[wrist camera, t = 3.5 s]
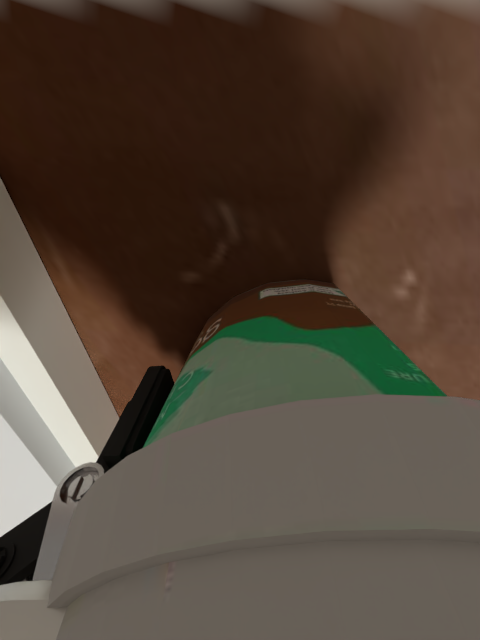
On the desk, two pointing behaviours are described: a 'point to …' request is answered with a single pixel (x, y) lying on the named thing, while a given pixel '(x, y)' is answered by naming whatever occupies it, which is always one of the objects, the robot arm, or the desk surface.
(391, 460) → the food container
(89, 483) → the robot arm
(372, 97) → the desk surface
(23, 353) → the scale
